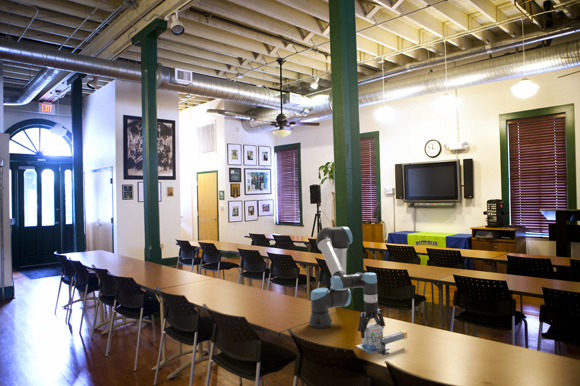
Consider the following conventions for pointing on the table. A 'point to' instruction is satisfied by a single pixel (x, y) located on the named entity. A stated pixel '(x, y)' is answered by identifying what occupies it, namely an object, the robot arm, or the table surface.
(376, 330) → the ink box
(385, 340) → the swing arm
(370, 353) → the label plate
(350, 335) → the table surface
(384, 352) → the pivot post
